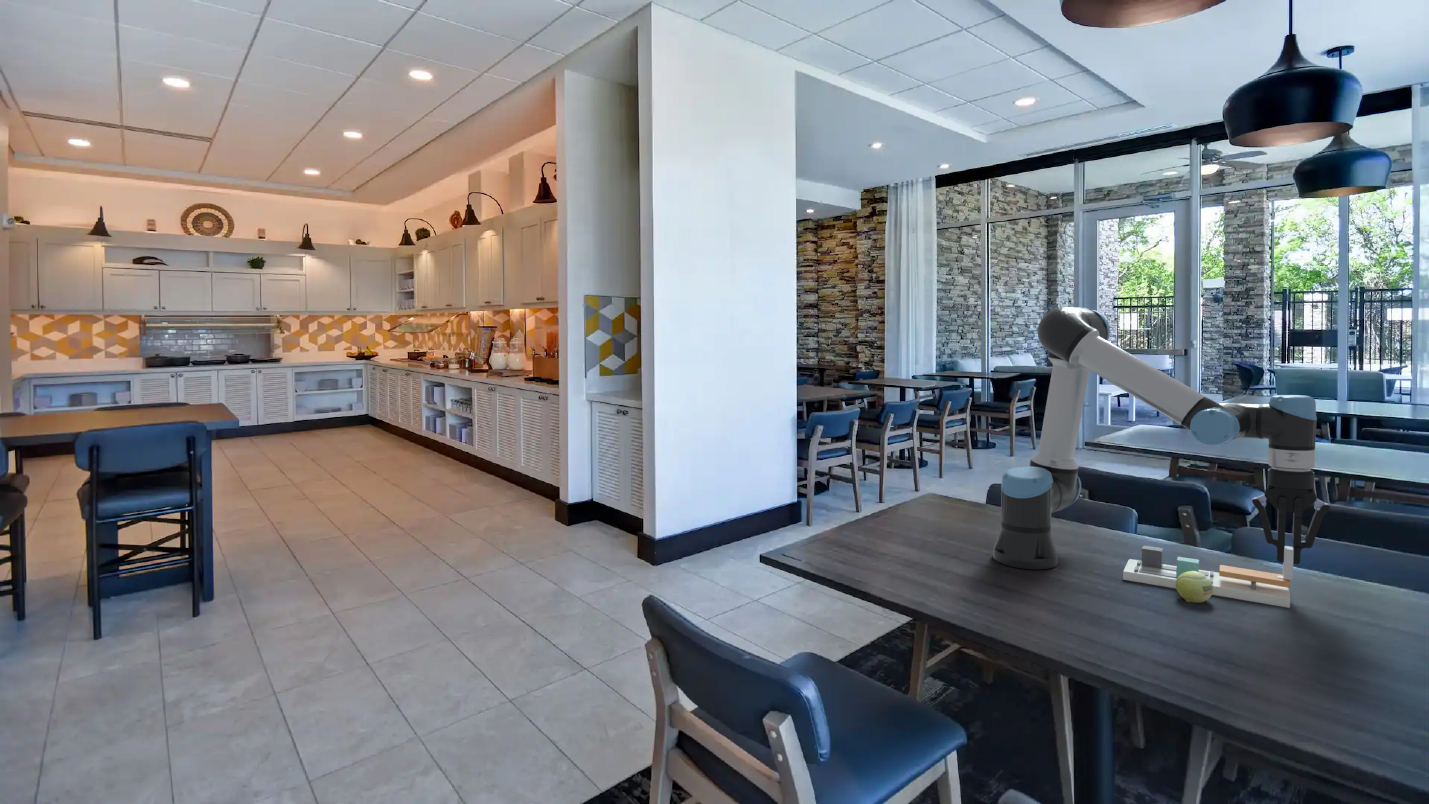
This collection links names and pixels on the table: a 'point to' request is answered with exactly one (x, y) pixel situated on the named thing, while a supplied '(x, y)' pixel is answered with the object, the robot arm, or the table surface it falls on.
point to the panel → (1220, 584)
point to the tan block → (1254, 576)
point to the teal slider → (1186, 565)
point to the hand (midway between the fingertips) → (1287, 577)
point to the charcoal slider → (1152, 556)
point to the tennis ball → (1194, 586)
